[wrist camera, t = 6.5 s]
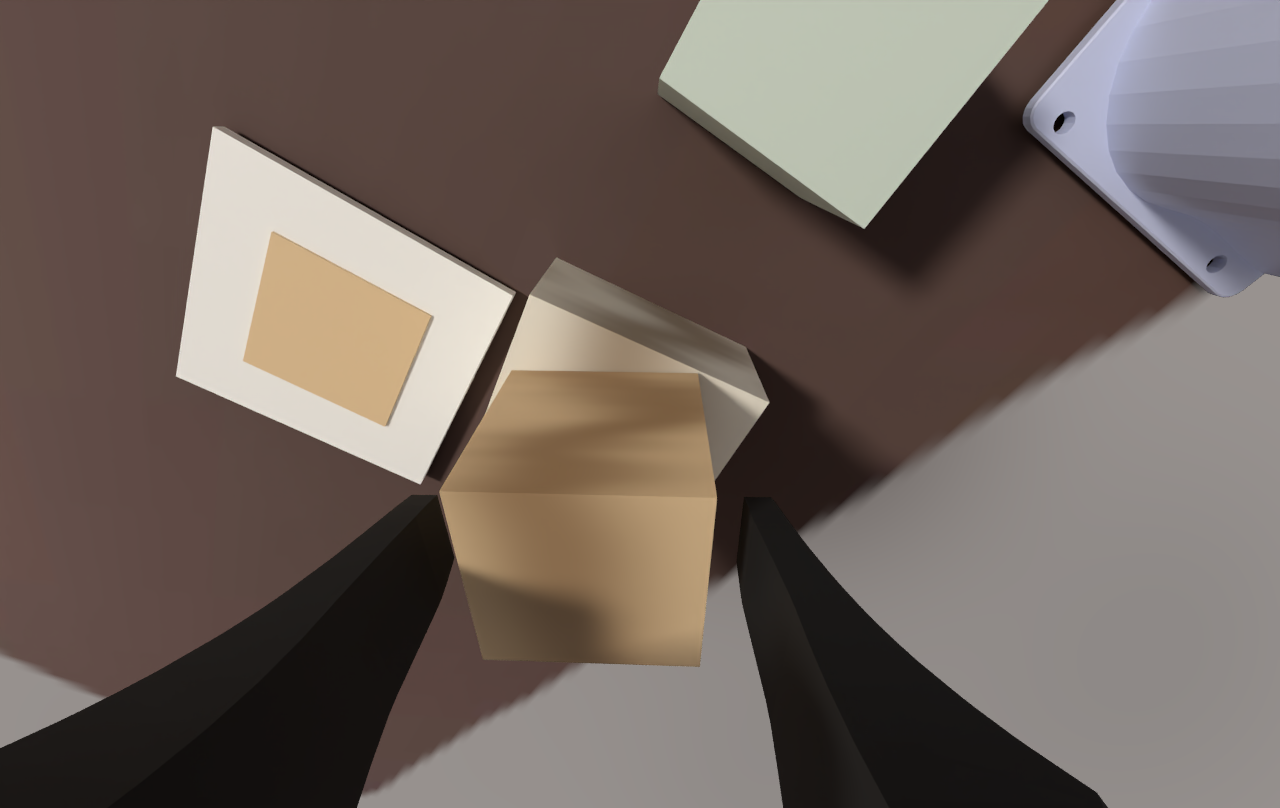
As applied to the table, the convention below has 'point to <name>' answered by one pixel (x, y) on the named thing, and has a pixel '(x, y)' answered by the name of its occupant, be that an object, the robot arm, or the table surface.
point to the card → (330, 312)
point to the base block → (635, 349)
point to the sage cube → (837, 85)
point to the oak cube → (587, 519)
